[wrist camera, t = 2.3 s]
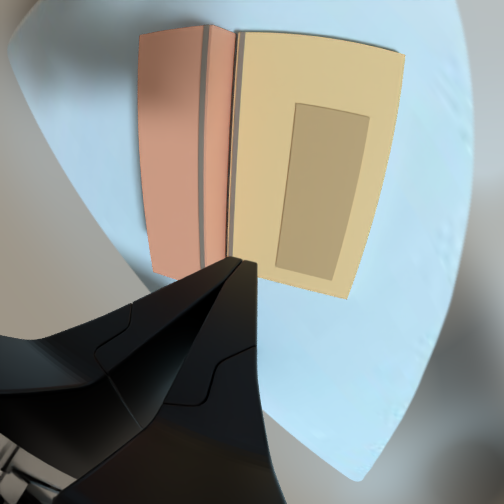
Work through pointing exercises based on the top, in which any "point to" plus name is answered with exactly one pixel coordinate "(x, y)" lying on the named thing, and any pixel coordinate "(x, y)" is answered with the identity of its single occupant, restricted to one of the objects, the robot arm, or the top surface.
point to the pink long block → (185, 144)
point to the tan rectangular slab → (309, 155)
